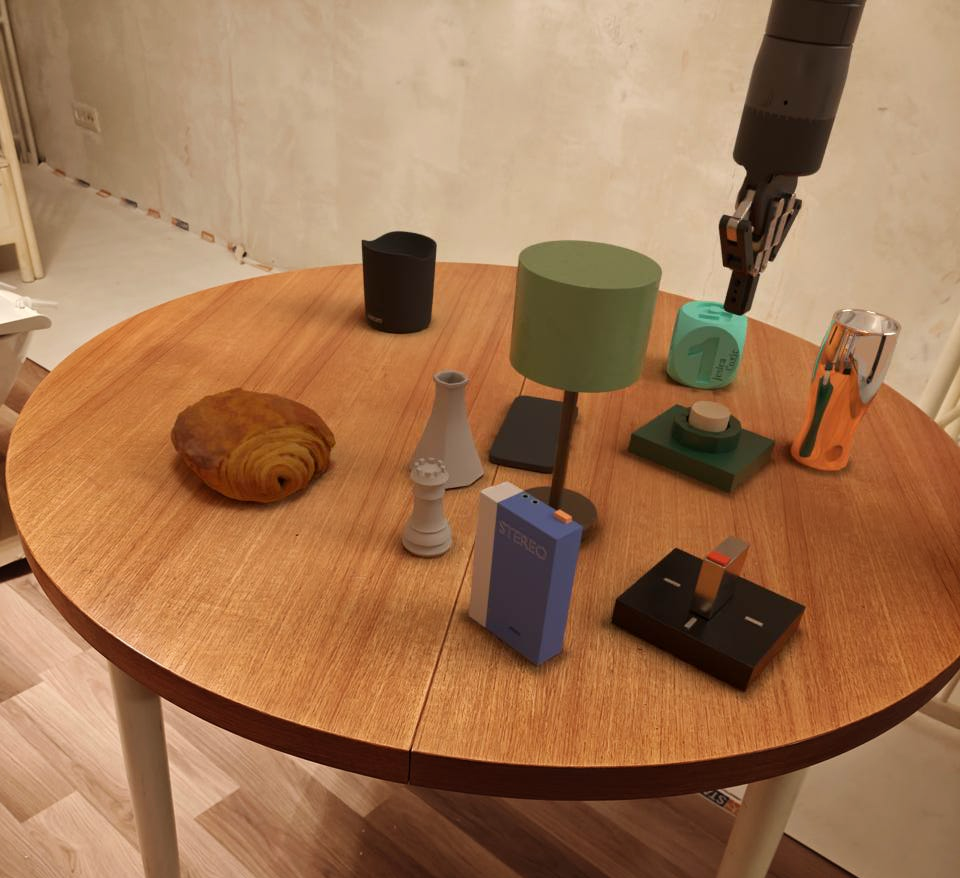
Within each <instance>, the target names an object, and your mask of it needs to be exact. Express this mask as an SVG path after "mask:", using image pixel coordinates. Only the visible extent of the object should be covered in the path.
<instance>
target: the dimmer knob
mask: <svg viewBox="0 0 960 878" xmlns="http://www.w3.org/2000/svg"><path fill="white" fill-rule="evenodd" d="M750 547H751V543H750V542H747V541H745V540H742V539H740V538H738V537H735V536H734V535H731V534H730V535H728V536H727V537H726V538H725V539H724V540H723V541H722V542H721V543H719V544H718V545H717V546H716V547H715V548H713V549H712V551H710V552H709V553H708V554H707V555H706V556H705V557H704V558H703V563H702V567H701V570H700V573H699V577H698V580H697V584H696V587H695V591H694V594H693V598H692V601H691V605H690V608H689V610H691V611H693V612H695V613H697V614H699V615H701V616H703V617H705V618H707V619H710V618H711V617H712V616H713V615H714V614H715V613H716V612H717V611H718V610H719V609H720V608H721V607H722V606H723V605H724V604H725V603H726V602H727V601H728V600H729V599H730V598H731V597H732V596H733V595H734V593H735V590H736V587H737V584H738V581H739V578H740V577H741V575H742V571H743V568H744V565H745V562H746V559H747V556H748V554H749V550H750Z"/></svg>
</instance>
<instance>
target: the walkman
mask: <svg viewBox="0 0 960 878" xmlns="http://www.w3.org/2000/svg"><path fill="white" fill-rule="evenodd" d="M478 496H479V497H478V509H477V519H476V520H477V521H476V522H477V523H476V532H475V536H474V546H473V558H472V559H473V560H472V573H471V586H470V597H469V609H468V616H469V618H471V619H472V620H474V621H475V622H476V623H478V624H479V625H481V626H482V627H484V628H485V629H486V630H488V631H489V632H490V633H492V634H493V635H494V636H496V637H497V638H499V639H500V640H501V641H502V642H504V643H505V644H507V645H508V646H509V647H511V648H512V649H513V650H515V651H516V652H518V653H519V654H520V655H521V656H523V657H524V658H526V659H527V660H528V661H530V662H531V663H532V664H534V665H535V666H536V667H538V666H540V665H542V664H543V663H545V662H547V661H549V660H550V659H551V658H553V657H555V656H557V655H558V654H559V653H561V652H562V650H563V646H564V639H565V634H566V628H567V622H568V616H569V610H570V605H571V598H572V593H573V588H574V582H575V575H576V570H577V565H578V560H579V559H578V558H579V553H580V548H581V543H582V542H581V536H582V530H583V526H581V525H580V524H578V523H576V522H575V521H573V520H572V517H571V516H570V515H568V514H566V513H565V512H563V511H561V510H558V511H556V510H555V509H553V508H551V507H550V506H548V505H546V504H545V503H543V502H541V501H540V500H538V499H536V498H535V497H533V496H532V495H530V494H528V493H527V492H525V491H524V490H523V489H521V488H519V487H518V486H516V485H515V484H513V483H511V482H509V481H508V480H506V481H504V482H502V483H499V484H497V485H490V486H487V487H486V488H482V489H481V490H479V495H478ZM580 542H581V543H580Z"/></svg>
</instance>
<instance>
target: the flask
mask: <svg viewBox="0 0 960 878" xmlns="http://www.w3.org/2000/svg"><path fill="white" fill-rule="evenodd" d="M432 381H433V382H434V384H435V389H434V391H435V393H434V400H433V404H432V408H431V411H430V415H429V416H428V419H427V422H426V424H425V426H424V429H423V432H422V434H421V435H420V438H419V439H418V440H419V441H418V442H417V444H416V447H415V449H414V450H413V453H412V455H411V457H410V460H409V462H408V464H407V466H408V467H409V469H410V470H411V471H412V470H413V469H414V468H415V462H418V463H419V459H422V458H424V459H425V463H429V458H435V463H436V464H438V461H439V460H441V461H442V462H444V464H443V465H445V470H446V471H447V473H448V475H449V478H448V480H447V481H446V482H445V483H444V484H443V487H444V489H445V490H446V489H452V488H453V489H454V488H460V487H466V486H470V485H472V484H473V483H474V482H475V481H477V480H478V479H480V477H482V476H483V475H485V471H484V467H483V464H482V461H481V458H480V455H479V452H478V449H477V447H476V443H475V440H474V436H473V433H472V429H471V426H470V422H469V419H468V415H467V407H466V387H467V386H468V385H469V383H470V378H469V377H468V376H467V375H466V374H465V373H464V372H461V371H458V370H455V369H446V370H439V371H438V372H436V373H434V374H432ZM411 471H410V472H411Z"/></svg>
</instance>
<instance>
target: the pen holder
mask: <svg viewBox="0 0 960 878" xmlns="http://www.w3.org/2000/svg"><path fill="white" fill-rule="evenodd" d="M360 241H361V261H362V281H363V282H362V283H363V298H364V299H363V300H364V313H365V314H364V316H365V319H366V321H367V322H368V324H369V325H370V326H371V327H373V328H374V329H376V330H379V331H383V332H387V333H393V334H394V333H395V334H406V333H415V332H419V331H423V330H425V329H426V328H427V327H428V326H429V325H430V324H431V321H432V316H433V315H432V314H433V305H434V304H433V303H434V292H435V291H434V290H435V276H436V264H437V263H436V262H437V248H438V244H437V241H435V239H433V238H432V237H429V236H427V235H424V234H421V233H417V232H412V231H406V230H405V231H404V230H394V231H389V232H386V233H384V234H382V235H380V236H378V237H377V238H374V239H372V240H366V239H361V240H360Z"/></svg>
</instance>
